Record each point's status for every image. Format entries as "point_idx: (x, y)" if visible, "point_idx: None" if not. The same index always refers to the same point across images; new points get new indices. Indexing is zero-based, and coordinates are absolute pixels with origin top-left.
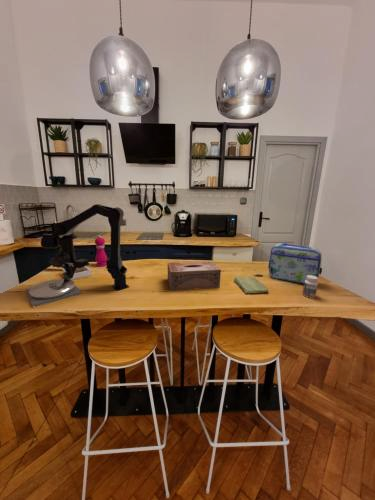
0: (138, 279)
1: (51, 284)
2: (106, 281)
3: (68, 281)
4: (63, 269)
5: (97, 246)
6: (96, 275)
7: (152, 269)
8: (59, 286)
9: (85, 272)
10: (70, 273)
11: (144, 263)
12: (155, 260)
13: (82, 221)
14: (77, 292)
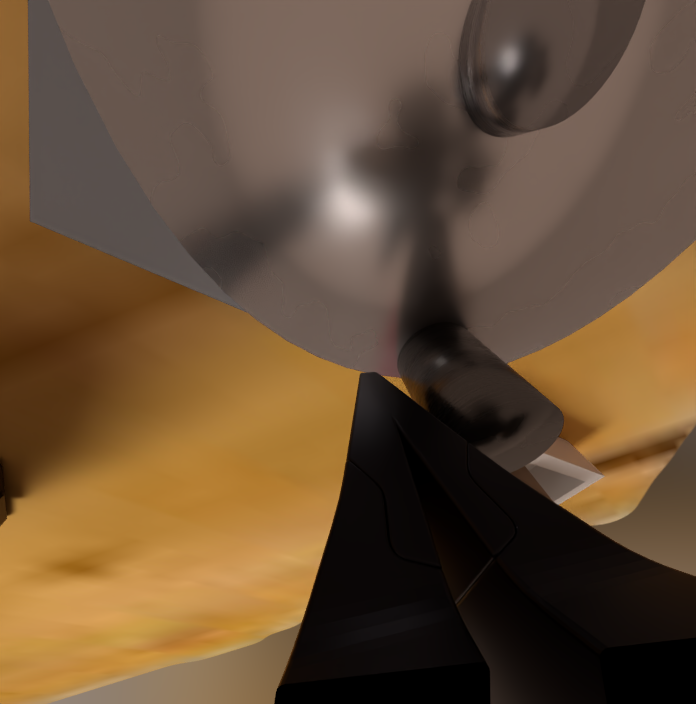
0: (4, 574)
1: (591, 2)
2: (171, 488)
3: (390, 334)
4: (593, 476)
5: None
6: (334, 505)
7: (111, 630)
8: (390, 102)
9: None
10: (350, 452)
11: (225, 630)
12: (211, 650)
13: None
14: (37, 161)
